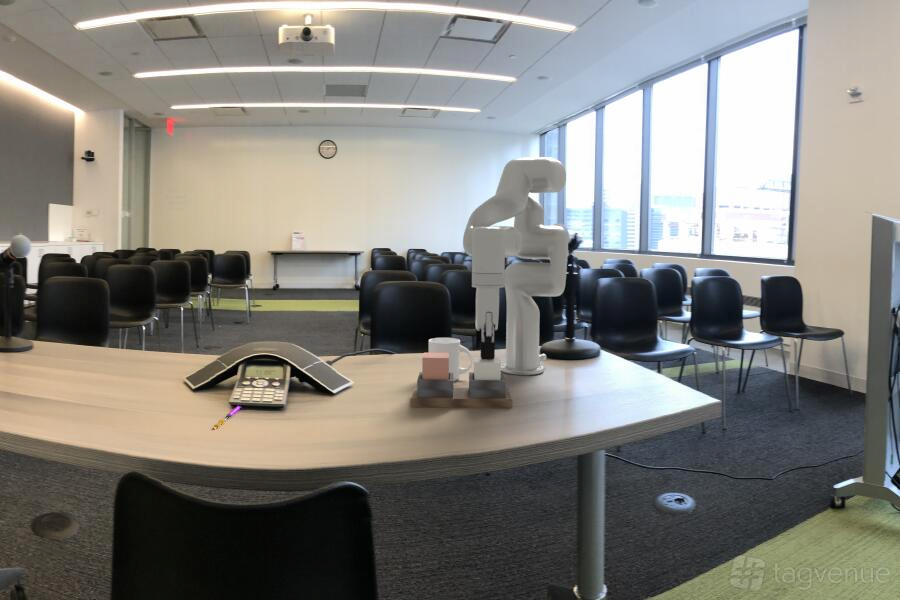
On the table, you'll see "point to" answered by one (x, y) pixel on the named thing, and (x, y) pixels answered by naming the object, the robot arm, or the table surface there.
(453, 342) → the mug
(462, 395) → the key panel
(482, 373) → the cream key
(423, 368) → the terracotta key
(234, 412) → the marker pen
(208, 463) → the table surface
